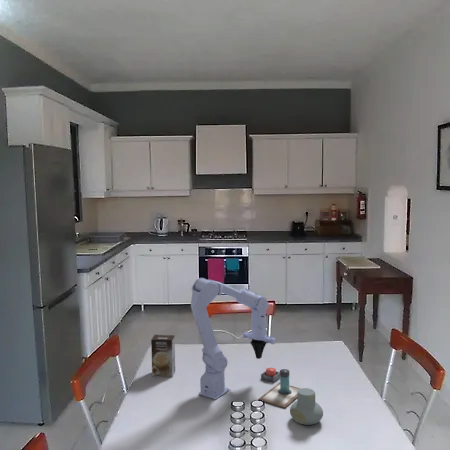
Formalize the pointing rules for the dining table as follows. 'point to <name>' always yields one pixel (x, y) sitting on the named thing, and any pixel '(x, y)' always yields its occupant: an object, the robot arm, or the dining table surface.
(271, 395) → the picture frame
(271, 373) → the button
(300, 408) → the air freshener
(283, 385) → the marker
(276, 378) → the button collar
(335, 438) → the dining table surface
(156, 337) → the coffee box
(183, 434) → the dining table surface
